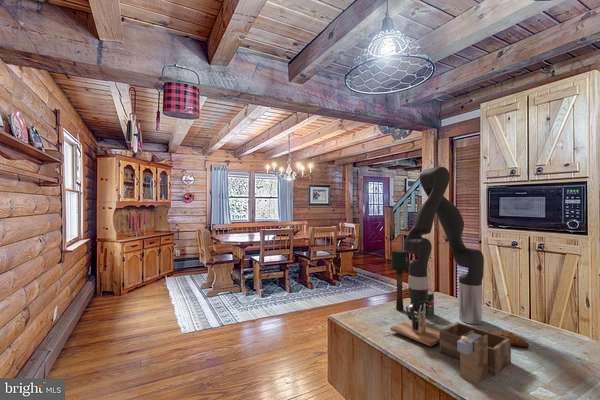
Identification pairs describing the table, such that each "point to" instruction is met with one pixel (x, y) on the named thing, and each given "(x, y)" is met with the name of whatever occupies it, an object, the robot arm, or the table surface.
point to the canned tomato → (431, 300)
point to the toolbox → (476, 351)
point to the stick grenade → (399, 273)
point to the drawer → (467, 343)
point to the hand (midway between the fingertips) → (418, 328)
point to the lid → (423, 333)
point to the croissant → (513, 339)
